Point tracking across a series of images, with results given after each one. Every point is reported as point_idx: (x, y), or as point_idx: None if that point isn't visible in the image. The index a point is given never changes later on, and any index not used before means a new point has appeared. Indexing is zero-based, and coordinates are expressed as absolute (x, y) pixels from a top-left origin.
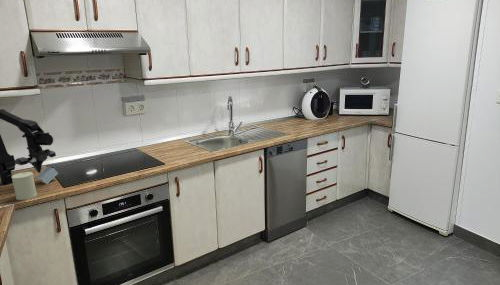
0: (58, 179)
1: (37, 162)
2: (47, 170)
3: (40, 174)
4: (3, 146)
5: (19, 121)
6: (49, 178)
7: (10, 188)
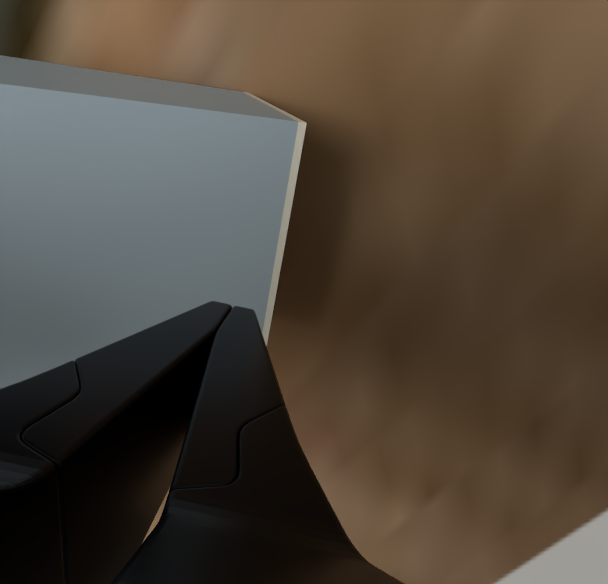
0: None
1: (193, 576)
2: (10, 265)
3: None
4: None
5: None
6: (158, 84)
7: (549, 484)
